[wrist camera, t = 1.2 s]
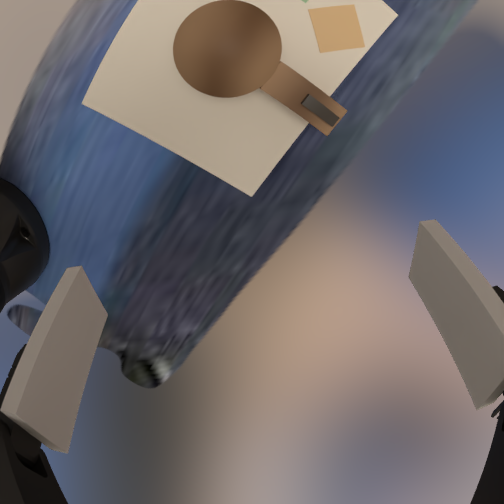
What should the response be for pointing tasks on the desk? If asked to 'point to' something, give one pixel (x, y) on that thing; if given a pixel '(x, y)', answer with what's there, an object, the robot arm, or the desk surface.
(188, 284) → the desk surface
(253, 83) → the brown frying pan
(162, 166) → the desk surface
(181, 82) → the board
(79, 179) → the desk surface
